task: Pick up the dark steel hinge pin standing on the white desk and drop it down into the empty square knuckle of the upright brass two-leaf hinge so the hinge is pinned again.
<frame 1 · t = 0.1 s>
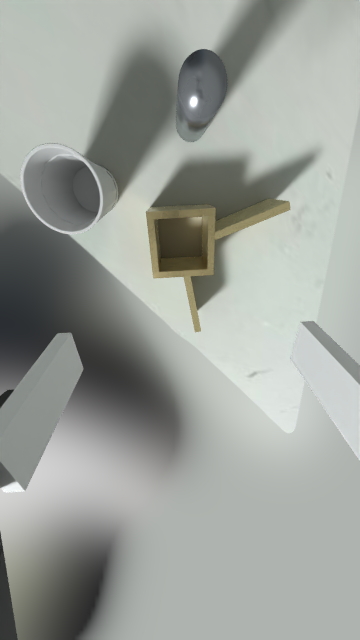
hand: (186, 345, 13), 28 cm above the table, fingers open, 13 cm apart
cup: (96, 190, 33), on the table
pin: (190, 122, 30), on the table
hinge: (180, 235, 37), on the table
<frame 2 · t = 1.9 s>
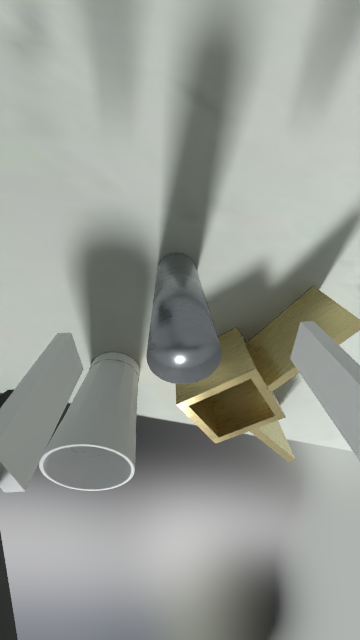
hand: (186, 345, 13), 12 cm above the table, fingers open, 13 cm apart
cup: (115, 369, 30), on the table
pin: (176, 272, 23), on the table
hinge: (220, 365, 30), on the table
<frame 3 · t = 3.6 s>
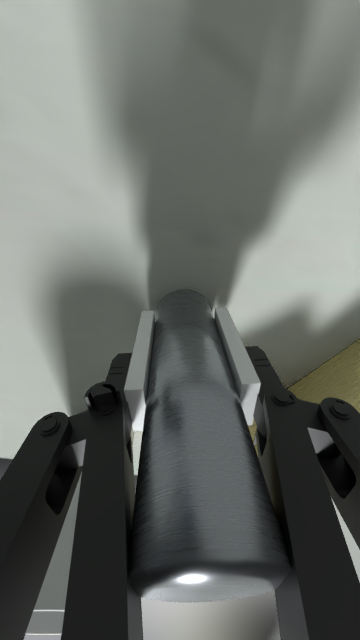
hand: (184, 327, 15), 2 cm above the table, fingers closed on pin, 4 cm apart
cup: (104, 427, 23), on the table
pin: (183, 315, 17), on the table, touching gripper
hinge: (238, 423, 23), on the table
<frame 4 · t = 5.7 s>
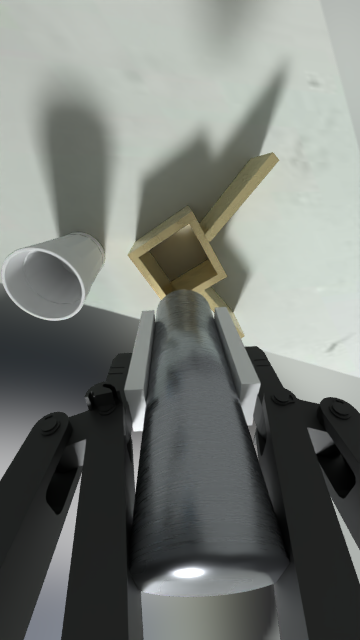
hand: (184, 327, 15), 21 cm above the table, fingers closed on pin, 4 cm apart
cup: (83, 254, 33), on the table
pin: (183, 314, 17), point 19 cm above the table, touching gripper
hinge: (177, 251, 33), on the table
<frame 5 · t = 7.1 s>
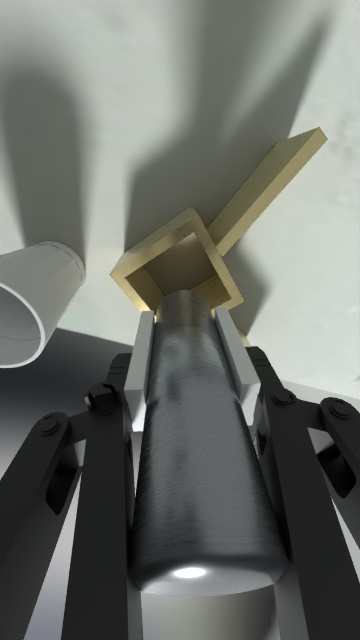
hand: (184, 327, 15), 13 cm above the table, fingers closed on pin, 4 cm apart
cup: (58, 268, 26), on the table
pin: (183, 314, 17), point 11 cm above the table, touching gripper
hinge: (177, 264, 26), on the table
when the fingers open (8 cm above the table, at t = 8.1 s): pin drops 7 cm, resting in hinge.
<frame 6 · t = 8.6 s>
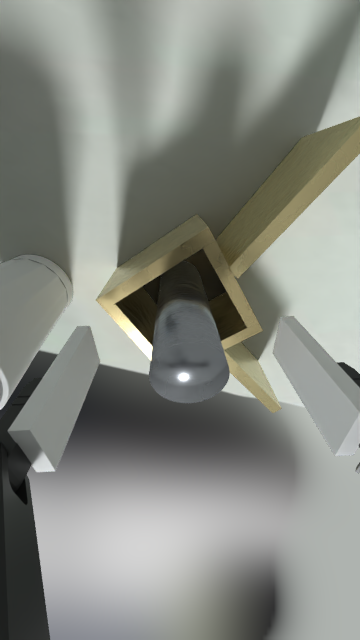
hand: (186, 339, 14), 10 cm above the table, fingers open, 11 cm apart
cup: (40, 286, 22), on the table
pin: (180, 280, 22), resting in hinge
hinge: (180, 281, 22), on the table
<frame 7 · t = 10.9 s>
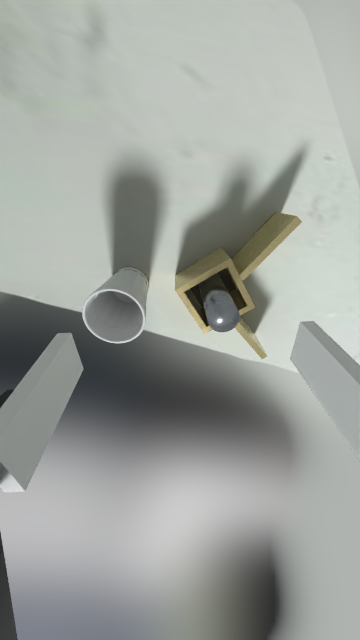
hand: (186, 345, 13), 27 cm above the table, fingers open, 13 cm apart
cup: (130, 284, 40), on the table
pin: (209, 282, 39), resting in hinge
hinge: (209, 282, 39), on the table
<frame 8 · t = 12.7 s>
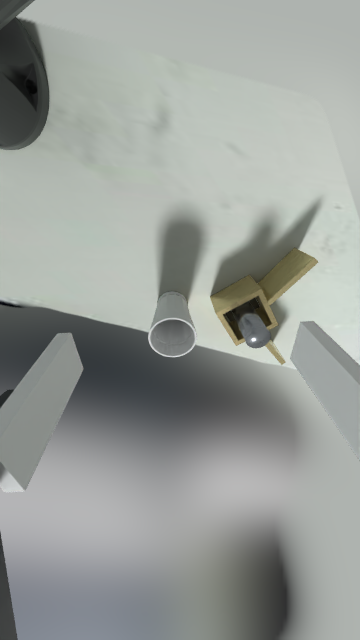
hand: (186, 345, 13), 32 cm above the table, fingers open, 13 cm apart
cup: (172, 304, 48), on the table
pin: (238, 302, 48), resting in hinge
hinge: (238, 302, 48), on the table
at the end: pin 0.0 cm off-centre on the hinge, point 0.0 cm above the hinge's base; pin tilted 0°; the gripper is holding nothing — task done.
